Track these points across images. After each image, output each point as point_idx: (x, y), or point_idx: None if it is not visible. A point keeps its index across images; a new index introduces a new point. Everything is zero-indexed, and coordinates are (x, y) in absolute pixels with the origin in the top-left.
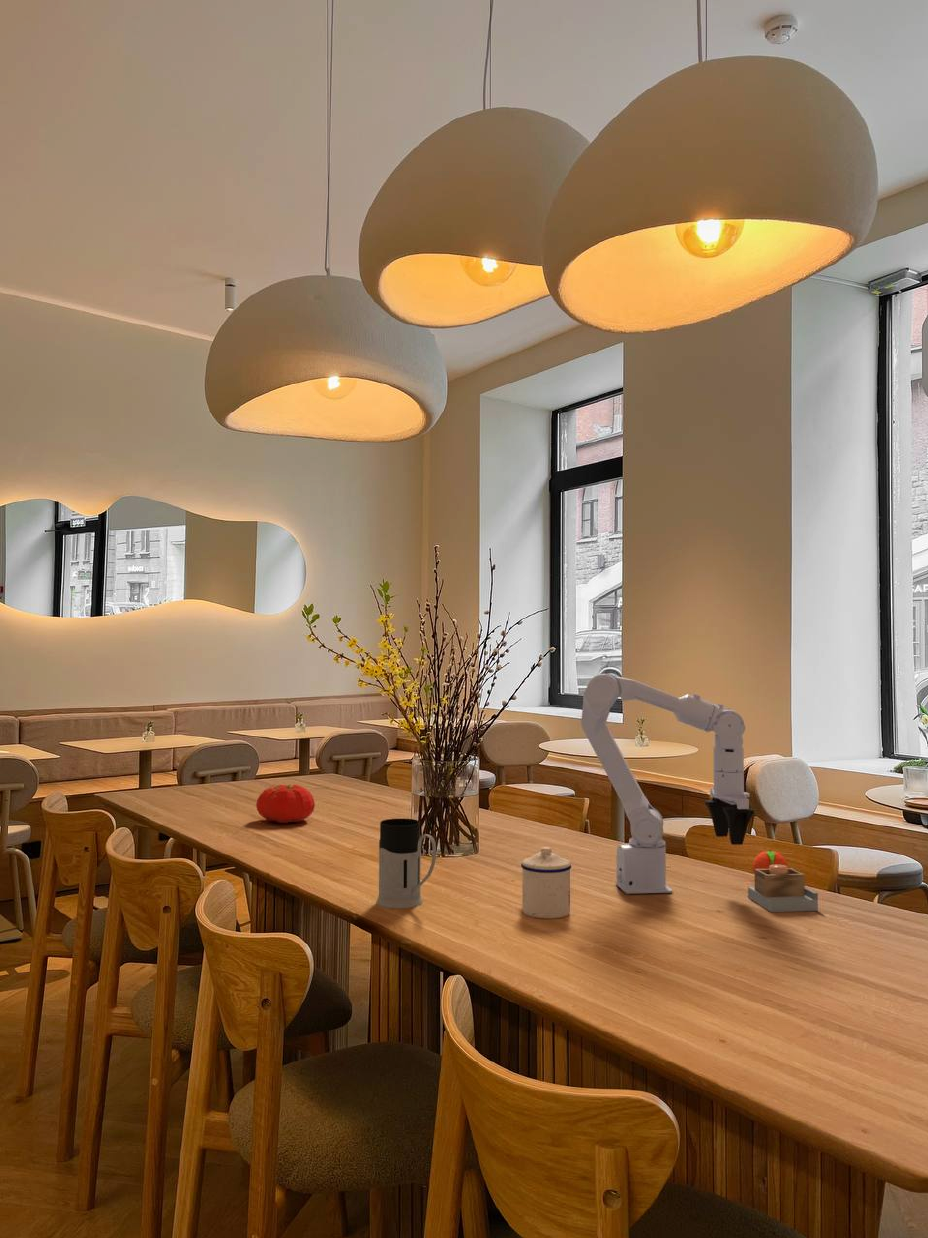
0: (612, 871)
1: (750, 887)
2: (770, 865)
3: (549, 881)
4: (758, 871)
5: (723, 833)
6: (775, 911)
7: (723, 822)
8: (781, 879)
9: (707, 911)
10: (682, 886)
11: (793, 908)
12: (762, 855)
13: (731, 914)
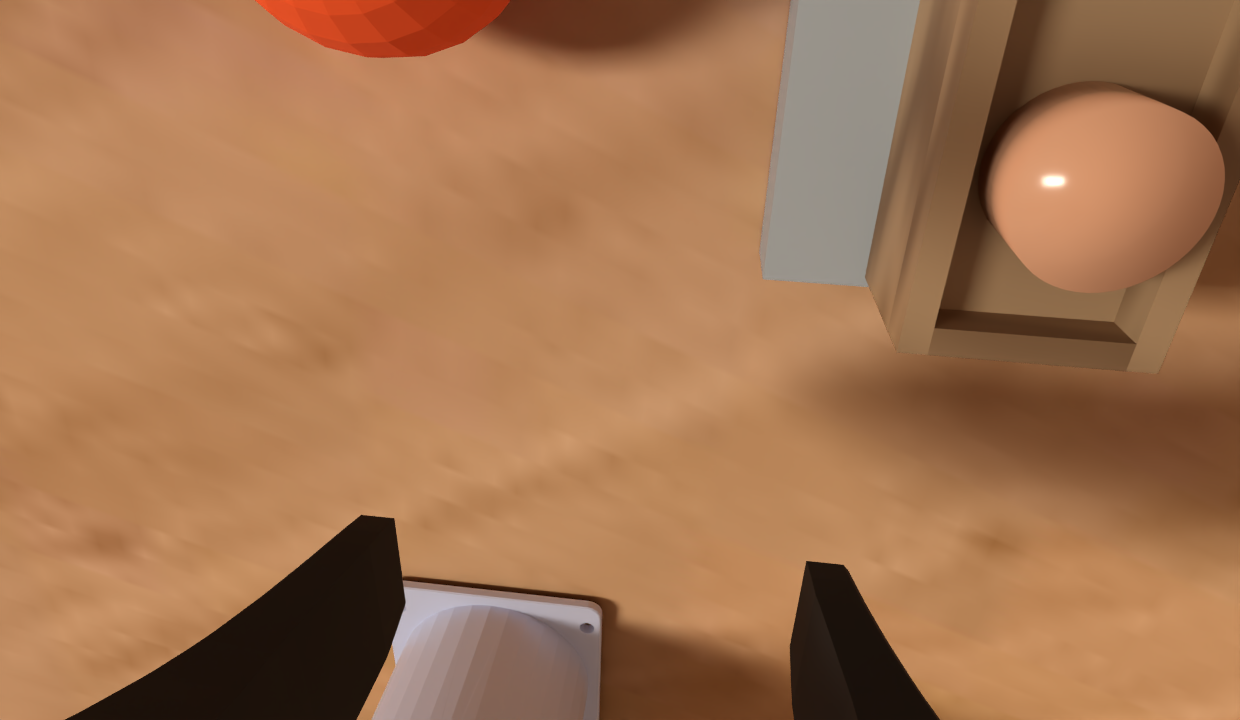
0: (155, 667)
1: (780, 267)
2: (1030, 260)
3: None
4: (988, 358)
5: (386, 574)
6: None
7: (315, 673)
8: None
9: (975, 591)
10: (453, 500)
11: None
12: None
13: (1080, 513)
